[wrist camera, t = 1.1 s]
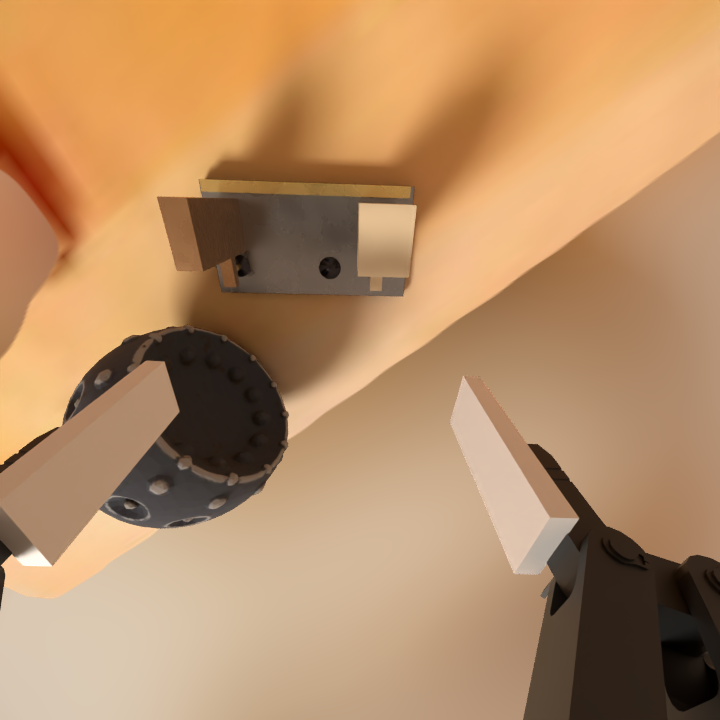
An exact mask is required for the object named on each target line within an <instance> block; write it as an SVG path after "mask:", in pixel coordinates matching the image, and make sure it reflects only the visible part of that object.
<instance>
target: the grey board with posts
mask: <svg viewBox="0 0 720 720" xmlns="http://www.w3.org/2000/svg"><path fill="white" fill-rule="evenodd" d="M199 184H200V189H201V193H202V198H199V197H157V198H158V202H159V206H160V210H161V213H162V217H163V221H164V224H165V228H166V232H167V235H168V239H169V243H170V246H171V250H172V254H173V258H174V261H175V265H176V269H177V271H205V270H208V269H210V268H212V267H214V266H216V267H217V271H218V276H219V281H220V286H221V291H222V292H242V293H283V294H324V295H365V296H403V293H404V284H405V278H399V277H382V291H370V277H361V276H358V267H357V240H358V203H388V204H407V205H413V196H414V187H411V186H385V185H356V184H327V183H298V182H269V181H240V180H211V179H199Z"/></svg>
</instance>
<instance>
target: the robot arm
mask: <svg viewBox="0 0 720 720" xmlns="http://www.w3.org/2000/svg"><path fill="white" fill-rule="evenodd" d="M179 412H180V411H179V408H178V405H177V401H176V398H175V395H174V391H173V388H172V385H171V382H170V378H169V375H168V372H167V368H166V365H165V362H164V361H145V362H144V363H142V364H141V365H140V366H138V367H137V368H136V369H135V370H133V371H132V372H131V373H129V374H128V375H127V376H125V377H124V378H123V379H122V380H120V381H119V382H118V383H116V384H115V385H114V386H113V387H111V388H110V389H109V390H107V391H106V392H105V393H104V394H102V395H101V396H100V397H98V398H97V399H96V400H95V401H93V402H92V403H91V404H89V405H88V406H87V407H85V408H84V409H83V410H82V411H80V412H79V413H78V414H76V415H75V416H74V417H73V418H71V419H70V420H69V421H67V422H66V423H65V424H64V425H62V426H61V427H56V428H55V429H53V430H51V431H49V432H47V433H45V434H43V435H41V436H39V437H37V438H35V439H34V440H33V441H31V442H30V443H29V444H27V445H26V446H25V447H23V448H22V449H21V450H19V453H18V454H14V455H13V456H11V457H10V458H9V459H7V460H6V461H5V462H4V464H3V465H0V608H1V600H2V594H3V587H4V580H5V572H4V568H3V567H2V566H1V565H2V564H3V563H4V562H5V561H6V559H7V558H8V557H9V556H10V555H11V554H12V555H13V556H14V557H15V558H16V559H17V560H18V561H19V562H20V563H21V564H22V565H23V566H53V565H54V564H55V562H56V561H57V560H58V559H59V557H60V556H61V555H62V554H63V553H64V551H65V550H66V549H67V548H68V547H69V545H70V544H71V543H72V542H73V540H74V539H75V538H76V537H77V536H78V534H79V533H80V532H81V531H82V530H83V528H84V527H85V526H86V525H87V523H88V522H89V521H90V520H91V519H92V517H93V516H94V515H95V514H96V513H97V511H98V510H99V509H100V508H101V506H102V505H103V504H104V503H105V502H106V500H107V499H108V498H109V497H110V496H111V494H112V493H113V492H114V491H115V489H116V488H117V487H118V486H119V485H120V483H121V482H122V481H123V480H124V479H125V477H126V476H127V475H128V474H129V473H130V471H131V470H132V469H133V468H134V466H135V465H136V464H137V463H138V462H139V460H140V459H141V458H142V457H143V456H144V454H145V453H146V452H147V451H148V449H149V448H150V447H151V446H152V445H153V443H154V442H155V441H156V440H157V439H158V437H159V436H160V435H161V434H162V432H163V431H164V430H165V429H166V428H167V426H168V425H169V424H170V423H171V422H172V420H173V419H174V418H175V417H176V415H177V414H178V413H179ZM450 424H451V426H452V428H453V431H454V433H455V435H456V438H457V440H458V443H459V445H460V447H461V450H462V452H463V454H464V457H465V459H466V461H467V463H468V466H469V469H470V471H471V473H472V476H473V478H474V480H475V483H476V485H477V487H478V490H479V492H480V494H481V497H482V499H483V501H484V504H485V506H486V509H487V511H488V513H489V516H490V518H491V520H492V523H493V525H494V527H495V530H496V532H497V534H498V537H499V539H500V542H501V544H502V546H503V549H504V551H505V553H506V556H507V558H508V560H509V563H510V565H511V567H512V570H513V572H514V574H540V572H541V571H542V570H543V568H544V567H545V566H546V564H548V566H549V568H550V570H551V572H552V573H553V575H554V577H553V579H552V580H551V581H550V583H549V584H548V585H547V586H546V588H545V589H544V591H543V592H542V594H541V596H542V597H543V598H546V596H547V595H548V598H547V603H546V608H545V613H544V618H543V623H542V628H541V633H540V638H539V643H538V648H537V653H536V658H535V663H534V668H533V673H532V678H531V683H530V688H529V693H528V698H527V703H526V708H525V714H524V719H523V720H720V563H719V562H717V561H715V560H713V559H711V558H708V557H704V556H700V555H695V556H690V557H689V558H687V559H686V560H685V561H684V562H683V563H682V564H678V563H675V562H672V561H669V560H666V559H663V558H660V557H657V556H654V555H650V554H648V553H645V552H644V550H643V549H642V548H641V547H640V546H639V545H638V544H636V543H635V542H634V541H633V540H632V539H631V538H629V537H628V536H626V535H624V534H623V533H622V532H620V531H617V530H615V529H613V528H610V527H606V525H605V524H604V523H603V522H602V521H601V519H600V518H599V517H598V516H597V514H596V513H595V512H594V510H593V509H592V508H591V506H590V505H589V504H588V503H587V501H586V500H585V499H584V497H583V496H582V495H581V493H580V492H579V491H578V489H577V488H576V487H575V485H574V484H573V483H572V482H570V480H569V478H568V476H567V475H566V474H565V473H564V471H562V470H561V467H560V466H559V465H558V463H557V462H556V461H555V459H554V458H553V457H552V456H551V455H550V454H549V453H548V452H546V451H545V450H544V449H543V448H542V447H540V446H539V445H538V444H527V443H526V442H525V441H524V439H523V437H522V436H521V435H520V433H519V432H518V430H517V429H516V427H515V426H514V425H513V423H512V422H511V420H510V419H509V418H508V416H507V415H506V413H505V412H504V410H503V409H502V407H501V406H500V405H499V403H498V402H497V401H496V399H495V397H494V396H493V395H492V393H491V392H490V390H489V389H488V388H487V386H486V385H485V383H484V382H483V380H482V379H481V378H480V377H477V376H463V378H462V382H461V386H460V389H459V393H458V396H457V400H456V403H455V407H454V411H453V414H452V418H451V421H450Z"/></svg>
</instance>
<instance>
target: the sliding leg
mask: <svg viewBox="0 0 720 720" xmlns="http://www.w3.org/2000/svg"><path fill="white" fill-rule="evenodd" d="M416 209H417V205H407V204H388V203H358V240H357V267H358V276H361V277H370V291H382V277H399V278H409V273H410V264H411V254H412V245H413V236H414V227H415V218H416Z"/></svg>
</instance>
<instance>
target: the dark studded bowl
mask: <svg viewBox="0 0 720 720" xmlns="http://www.w3.org/2000/svg"><path fill="white" fill-rule="evenodd" d="M145 361H164V362H165V365H166V368H167V372H168V375H169V378H170V382H171V385H172V388H173V391H174V395H175V398H176V401H177V405H178V408H179V411H180V412H179V413H178V414H177V415H176V417H175V418H174V419H173V420H172V422H171V423H170V424H169V425H168V426H167V428H166V429H165V430H164V431H163V432H162V434H161V435H160V436H159V437H158V439H157V440H156V441H155V442H154V443H153V445H152V446H151V447H150V448H149V449H148V451H147V452H146V453H145V454H144V456H143V457H142V458H141V459H140V460H139V462H138V463H137V464H136V465H135V466H134V468H133V469H132V470H131V471H130V473H129V474H128V475H127V476H126V477H125V479H124V480H123V481H122V482H121V483H120V485H119V486H118V487H117V488H116V489H115V491H114V492H113V493H112V494H111V496H110V497H109V498H108V499H107V500H106V502H105V503H104V504H103V505H102V506H101V508H100V510H101V511H103V512H104V513H106V514H108V515H110V516H112V517H114V518H116V519H118V520H120V521H123V522H126V523H129V524H133V525H137V526H142V527H151V528H178V527H184V526H191V525H195V524H199V523H202V522H205V521H208V520H211V519H213V518H216V517H218V516H220V515H223V514H225V513H227V512H228V511H230V510H232V509H234V508H235V507H237V506H238V505H240V504H241V503H243V502H244V501H246V500H247V499H248V498H249V497H251V496H252V495H255V494H258V493H259V492H261V491H262V489H263V488H264V486H265V483H266V481H267V479H268V478H269V477H270V476H271V474H272V473H273V471H274V470H275V468H276V466H277V465H278V464H279V463H280V462H281V461H282V458H283V453H284V451H285V450H286V449H287V447H288V442H287V437H288V421H287V418H288V416H289V414H288V412H287V411H286V410H285V406H284V403H283V400H282V398H281V395H280V393H279V391H278V389H277V383H276V382H275V381H273V380H272V379H271V377H270V376H269V374H268V373H267V372H266V371H265V369H264V368H263V367H262V366H261V365H260V363H259V362H258V361H257V359H256V356H254V355H251V354H249V353H248V352H247V351H245V350H244V349H243V348H242V347H240V346H239V345H237V344H236V343H234V342H232V341H231V340H229V339H228V337H227V336H226V335H223V334H220V335H219V334H217V333H214V332H211V331H208V330H203V329H198V328H194V327H193V326H191V325H185V326H183V327H174V326H173V327H167V328H166V329H162V330H158V331H153V332H150V333H147V334H144V335H132V336H130V337H128V338H126V339H124V340H123V342H122V344H121V345H120V346H118V347H117V348H115V349H114V350H112V351H111V352H110V353H108V354H107V355H105V356H104V357H103V358H102V359H100V360H99V361H98V362H97V363H96V364H95V365H94V366H93V367H92V368H91V369H90V370H89V371H88V372H87V373H86V374H85V376H84V377H83V379H82V380H81V382H80V383H79V384H78V386H77V387H76V389H75V391H74V393H73V395H72V396H71V398H70V401H69V403H68V406H67V409H66V412H65V414H64V418H63V424H62V425H64V424H65V423H66V422H67V421H69V420H70V419H71V418H73V417H74V416H75V415H76V414H78V413H79V412H80V411H82V410H83V409H84V408H85V407H87V406H88V405H89V404H91V403H92V402H93V401H95V400H96V399H97V398H98V397H100V396H101V395H102V394H104V393H105V392H106V391H107V390H109V389H110V388H111V387H113V386H114V385H115V384H116V383H118V382H119V381H120V380H122V379H123V378H124V377H125V376H127V375H128V374H129V373H131V372H132V371H133V370H135V369H136V368H137V367H138V366H140V365H141V364H142V363H144V362H145Z"/></svg>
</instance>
